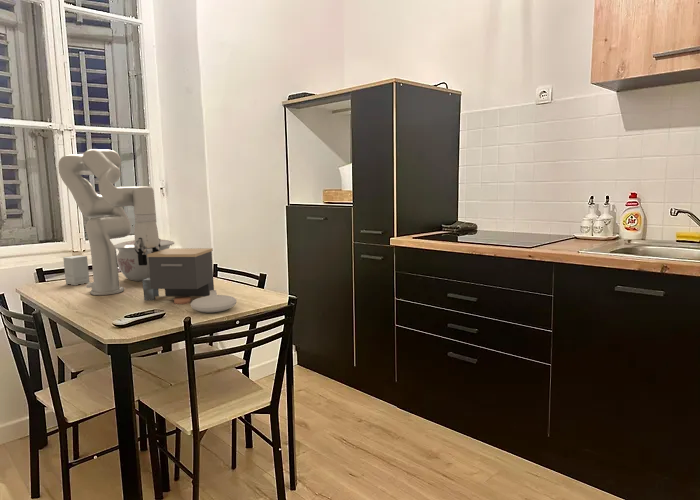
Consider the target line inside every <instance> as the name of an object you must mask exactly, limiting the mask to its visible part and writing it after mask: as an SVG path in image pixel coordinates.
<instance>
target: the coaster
mask: <svg viewBox="0 0 700 500" xmlns="http://www.w3.org/2000/svg"><path fill="white" fill-rule="evenodd" d="M191 302H192V300H191V297H190V296H179V297H175V298H174V300H173V304H175V305H186V304H189V303H190V304H191Z"/></svg>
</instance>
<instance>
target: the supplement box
mask: <svg viewBox="0 0 700 500" xmlns="http://www.w3.org/2000/svg"><path fill="white" fill-rule="evenodd" d="M63 268H64V277H65V284H66V285H68V284H71V285H70V286H78V284H81V285H85V284H84V283H86V284H87V283H89V282H90V272H89V263H88V256H87V255H72V256H71V255H70V256H65V257H63Z"/></svg>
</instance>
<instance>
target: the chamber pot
mask: <svg viewBox="0 0 700 500" xmlns="http://www.w3.org/2000/svg"><path fill="white" fill-rule="evenodd" d="M160 239H161V238H160ZM134 244H135V239H133V240H127V241H122V242H118V243H116V244H113V245H114V246H115V248H116V250H118V253H117V264H118V270H119V271H120V272H121V274H122V275H123V276H124V277H125V278H126V279H127V280H130V281H133V282H143V280H144V279H147V278H150V269H149V257H147V265H139V263H138V255H137V252H136V251H135V247H134ZM174 244H175V241H172V240H168V239H161V242H160V251H161V250H165V249H170V247H171V246H173V245H174ZM142 251H143V250H142ZM151 252H152V249H151V248H150V249H147V250H146V253H145V255H146V256H147V254H150V253H151Z"/></svg>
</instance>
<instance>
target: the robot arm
mask: <svg viewBox="0 0 700 500" xmlns="http://www.w3.org/2000/svg"><path fill="white" fill-rule="evenodd" d="M57 165H58V166H57V167H58V174H59V176H60V178H61V180H62V182H63V183H64V185H65V186H66V187H67V189H68V190H69V191H70V193H71V194H72V197H73V199H74V201H75V203H76V205H77V207H78V209H79V211H80V213H81V215H82V216H83V217H84V218H88V219H89V220H87V222H86V224H85V231H86V235H87V239H88V242H89V247H90V256H91V257H90V258H91V266H92V275H93V276H92V279H93V281H91V282H89V283H86V286H85V287H86V288H87V289H88V288H89V289H90V288H91V290H89V292H90V295H93V296H108V295H109V296H110V295H114V294H118V293H121V292H123V291H124V290H125V288H124V287H123V286H120V279H119V266H118V263H117V255H118V253H117V249H116V248H115V246H114V245H115V244H114V243H113V242H112V240H113V239H122V238H126V237H128V236H129V235H130V234H131V231H132V225H131V221H130V219H129V217H128V215H127V213H126V212H125V209H124V207H133V211H134V222H135V224H134V240H135V244H134V247H135V251H136V252H137V255H138V263H139V265H147V256H146V255H145V253H146V250H147V249H150V248H151V249H152V252H151V253H154V252H157V251H160V242H161V238H160V237H159V231H158V226H157V215H156V214H157V213H156V212H157V211H156V203H155V192H154V188H153V187H152V186H115V185H114V184H116V183H117V182H118V181H119V179H120V178H121V173H122V172H121V170H120V167H122V166H121V165H122V158H121V156H120V154H119V153H118V152H117V151H115V150H113V149H112V150H111V149H98V148H92V149H88V150H86V151H85V152H83V153H82V154H80V153H79V154H73V153H72V154H67V155H64V156H61V158H60V159H59V161H58V164H57ZM83 175H84V176H95V177H96V178H97V180H98V190H99V193H100V194H98V192H96V190H95V188H94V186H93V185H92V183H90V182H89V180H87V179H86V178H84V176H83ZM142 250H143V251H142Z"/></svg>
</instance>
